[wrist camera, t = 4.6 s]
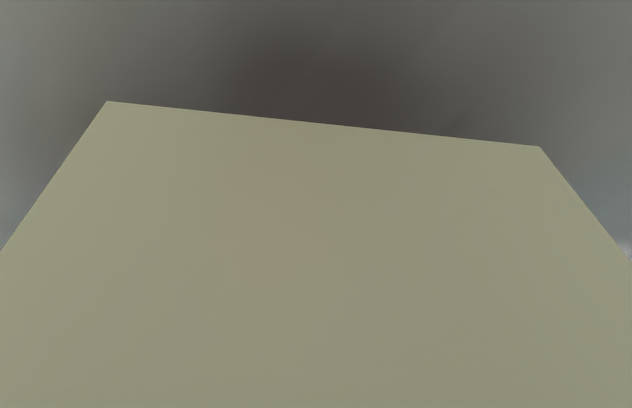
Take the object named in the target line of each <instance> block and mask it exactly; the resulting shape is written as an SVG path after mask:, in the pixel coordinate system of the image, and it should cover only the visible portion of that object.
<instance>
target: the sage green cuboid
mask: <svg viewBox="0 0 632 408" xmlns="http://www.w3.org/2000/svg"><path fill="white" fill-rule="evenodd" d="M0 408H632V263H631V261H630V260H629V259H628V258H627V256H626V255H625V254H624V253H623V251H622V250H621V249H620V248H619V246H618V245H617V244H616V243H615V241H614V240H613V239H612V237H611V236H610V235H609V234H608V232H607V231H606V230H605V229H604V227H603V226H602V225H601V224H600V222H599V221H598V220H597V219H596V217H595V216H594V215H593V213H592V212H591V211H590V210H589V208H588V207H587V206H586V205H585V203H584V202H583V201H582V200H581V198H580V197H579V196H578V195H577V193H576V192H575V191H574V189H573V188H572V187H571V186H570V184H569V183H568V182H567V181H566V179H565V178H564V177H563V176H562V174H561V173H560V172H559V171H558V169H557V168H556V167H555V165H554V164H553V163H552V162H551V160H550V159H549V158H548V157H547V155H546V154H545V153H544V152H543V150H542V149H541V148H540V147H539V146H531V145H521V144H512V143H502V142H493V141H483V140H474V139H464V138H455V137H445V136H436V135H426V134H417V133H407V132H398V131H388V130H379V129H369V128H360V127H350V126H341V125H331V124H322V123H312V122H303V121H293V120H284V119H274V118H265V117H255V116H246V115H236V114H227V113H218V112H208V111H199V110H189V109H180V108H170V107H161V106H151V105H142V104H132V103H123V102H113V101H106V102H105V104H104V105H103V107H102V108H101V110H100V111H99V112H98V114H97V115H96V117H95V118H94V119H93V121H92V122H91V124H90V125H89V127H88V128H87V129H86V131H85V132H84V134H83V135H82V136H81V138H80V139H79V141H78V142H77V144H76V145H75V146H74V148H73V149H72V151H71V152H70V153H69V155H68V156H67V158H66V159H65V161H64V162H63V163H62V165H61V166H60V168H59V169H58V170H57V172H56V173H55V175H54V176H53V178H52V179H51V180H50V182H49V183H48V185H47V186H46V187H45V189H44V190H43V192H42V193H41V195H40V196H39V197H38V199H37V200H36V202H35V203H34V204H33V206H32V207H31V209H30V210H29V212H28V213H27V214H26V216H25V217H24V219H23V220H22V221H21V223H20V224H19V226H18V227H17V229H16V230H15V231H14V233H13V234H12V236H11V237H10V239H9V240H8V241H7V243H6V244H5V246H4V247H3V248H2V250H1V251H0Z"/></svg>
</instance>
